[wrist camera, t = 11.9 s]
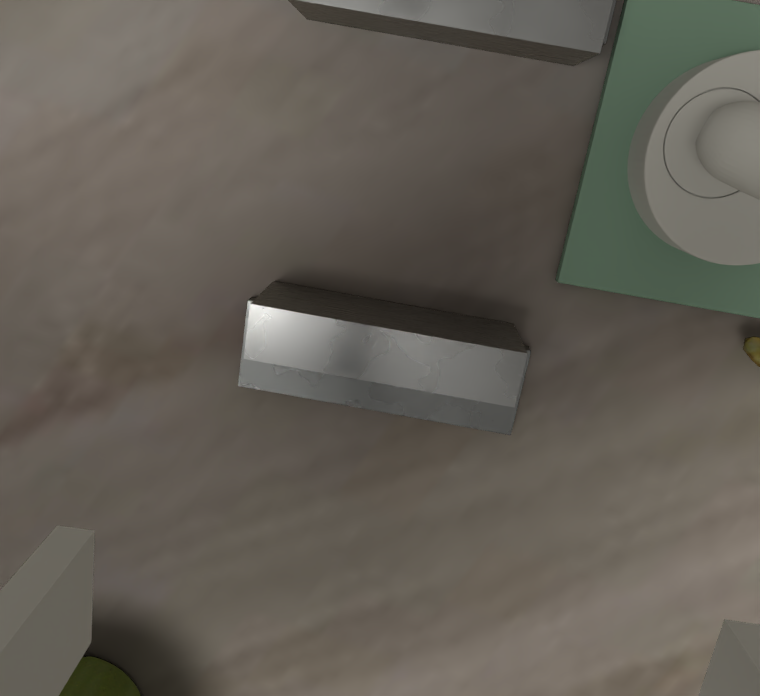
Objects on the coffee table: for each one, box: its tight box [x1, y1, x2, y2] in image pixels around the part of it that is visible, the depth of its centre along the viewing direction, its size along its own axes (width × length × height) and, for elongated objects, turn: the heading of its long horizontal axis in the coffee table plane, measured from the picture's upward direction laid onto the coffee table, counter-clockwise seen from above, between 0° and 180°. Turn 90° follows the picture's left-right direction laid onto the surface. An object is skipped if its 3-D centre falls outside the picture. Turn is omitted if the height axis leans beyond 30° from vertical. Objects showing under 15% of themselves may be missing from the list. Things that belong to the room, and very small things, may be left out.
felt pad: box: [556, 0, 760, 318], centre depth 32 cm, size 13×13×1 cm
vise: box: [238, 0, 616, 435], centre depth 31 cm, size 14×23×5 cm, turn 170°
